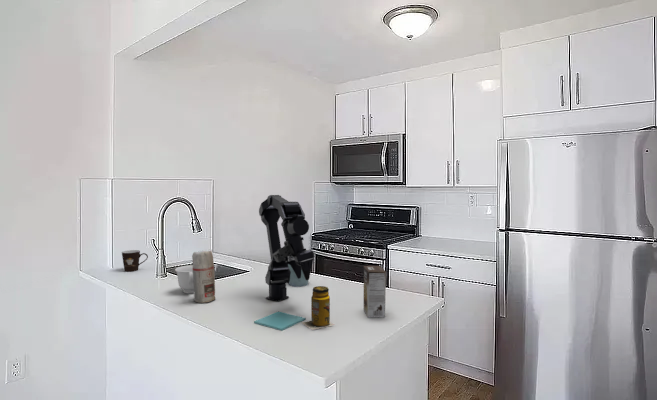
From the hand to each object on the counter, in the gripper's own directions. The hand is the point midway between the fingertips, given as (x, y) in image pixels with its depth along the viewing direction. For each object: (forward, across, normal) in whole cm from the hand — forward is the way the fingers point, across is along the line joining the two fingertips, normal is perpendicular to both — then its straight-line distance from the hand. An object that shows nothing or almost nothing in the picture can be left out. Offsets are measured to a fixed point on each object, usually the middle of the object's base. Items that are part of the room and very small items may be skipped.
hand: (303, 279), depth 141 cm
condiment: (+14, +11, -2) cm, 18 cm away
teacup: (-2, -43, -36) cm, 56 cm away
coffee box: (+18, +9, +20) cm, 28 cm away
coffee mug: (-15, -97, -59) cm, 114 cm away
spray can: (+1, -29, -32) cm, 44 cm away
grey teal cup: (+8, -39, +9) cm, 40 cm away
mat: (+10, +4, -13) cm, 17 cm away
